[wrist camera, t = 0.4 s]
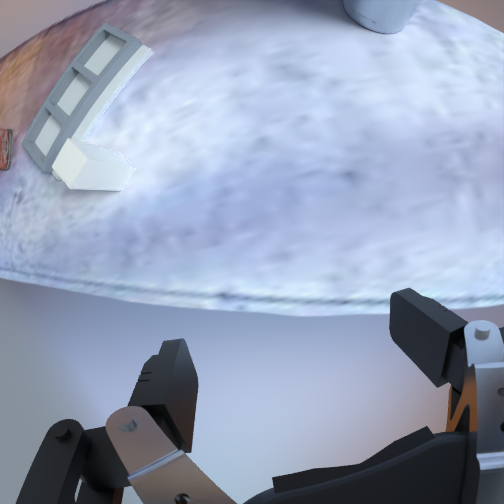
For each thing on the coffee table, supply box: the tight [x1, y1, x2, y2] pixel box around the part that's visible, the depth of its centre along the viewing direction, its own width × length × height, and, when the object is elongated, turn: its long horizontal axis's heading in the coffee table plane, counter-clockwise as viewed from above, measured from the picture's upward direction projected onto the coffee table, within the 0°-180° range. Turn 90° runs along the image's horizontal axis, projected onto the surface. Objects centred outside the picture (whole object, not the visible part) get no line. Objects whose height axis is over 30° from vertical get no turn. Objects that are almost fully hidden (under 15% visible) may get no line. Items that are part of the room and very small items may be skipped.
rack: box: [22, 23, 154, 180], centre depth 29 cm, size 22×12×3 cm, turn 139°
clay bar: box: [52, 138, 137, 191], centre depth 27 cm, size 4×4×10 cm
